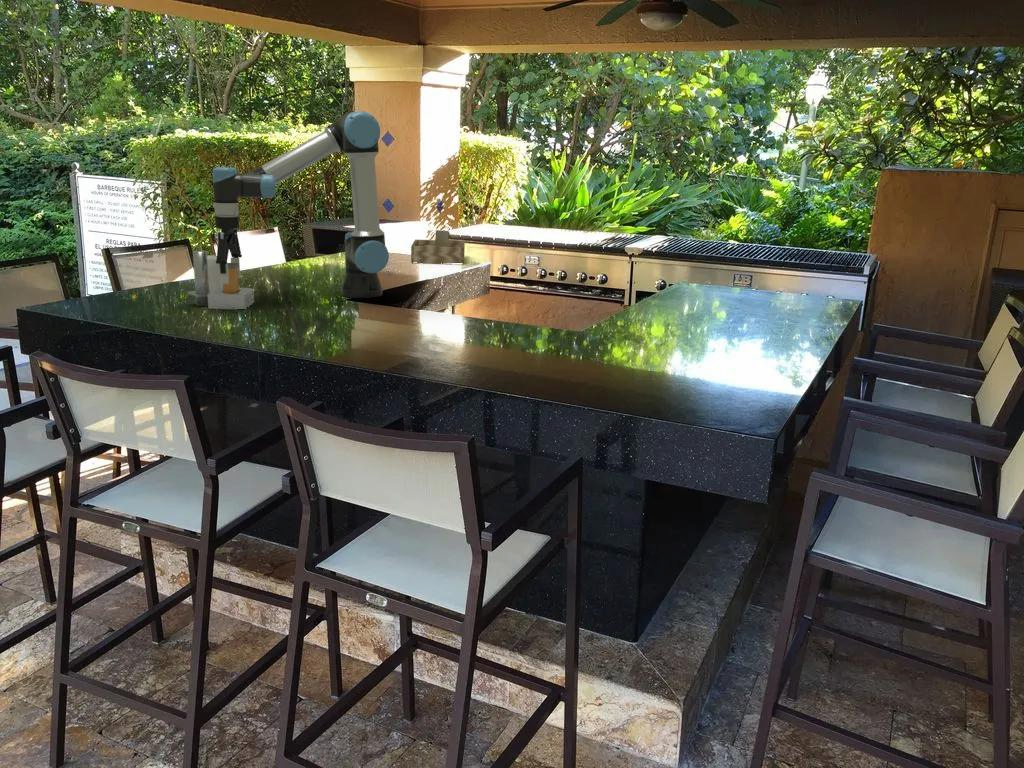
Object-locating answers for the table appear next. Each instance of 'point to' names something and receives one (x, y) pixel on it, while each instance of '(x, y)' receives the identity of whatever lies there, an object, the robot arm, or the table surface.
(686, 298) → the table surface
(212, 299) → the grey angular stepped piece
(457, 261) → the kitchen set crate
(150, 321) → the table surface
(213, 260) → the foam cup
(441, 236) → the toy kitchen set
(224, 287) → the wedge pin
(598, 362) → the table surface
